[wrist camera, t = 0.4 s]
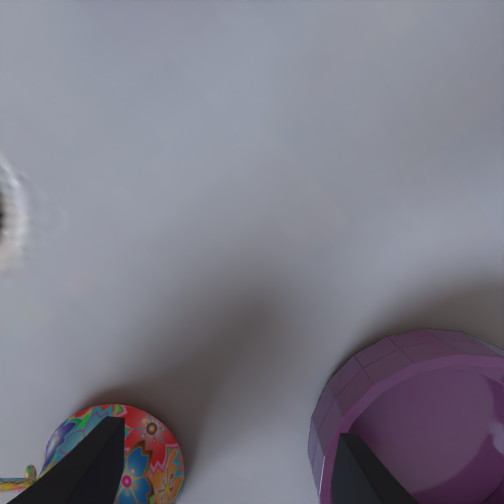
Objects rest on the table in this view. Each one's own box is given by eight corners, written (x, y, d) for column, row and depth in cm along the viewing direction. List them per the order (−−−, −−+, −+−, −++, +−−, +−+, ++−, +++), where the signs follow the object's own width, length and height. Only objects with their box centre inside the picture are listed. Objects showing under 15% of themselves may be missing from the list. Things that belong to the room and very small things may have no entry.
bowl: (468, 569, 26) (514, 645, 21) (270, 490, 25) (275, 553, 21) (575, 380, 24) (648, 419, 20) (367, 289, 24) (395, 310, 19)
